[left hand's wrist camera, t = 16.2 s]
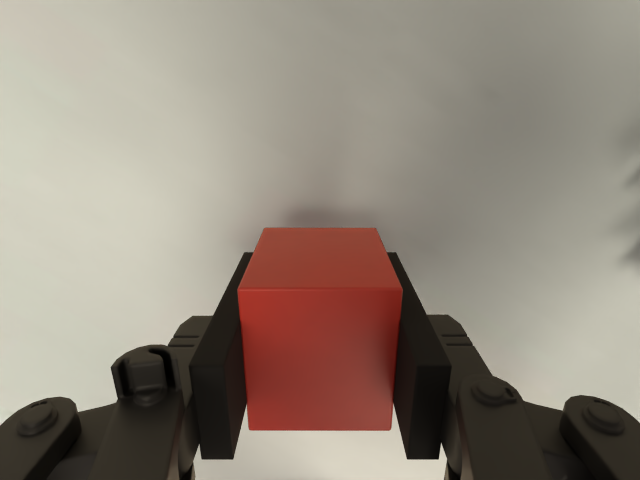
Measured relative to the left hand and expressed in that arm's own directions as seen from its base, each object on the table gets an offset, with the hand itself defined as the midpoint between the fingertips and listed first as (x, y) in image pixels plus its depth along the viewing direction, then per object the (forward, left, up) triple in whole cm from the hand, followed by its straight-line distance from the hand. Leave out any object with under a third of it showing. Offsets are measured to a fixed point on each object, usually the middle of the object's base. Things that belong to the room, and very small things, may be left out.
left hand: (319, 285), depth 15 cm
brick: (0, 0, 0) cm, 0 cm away
